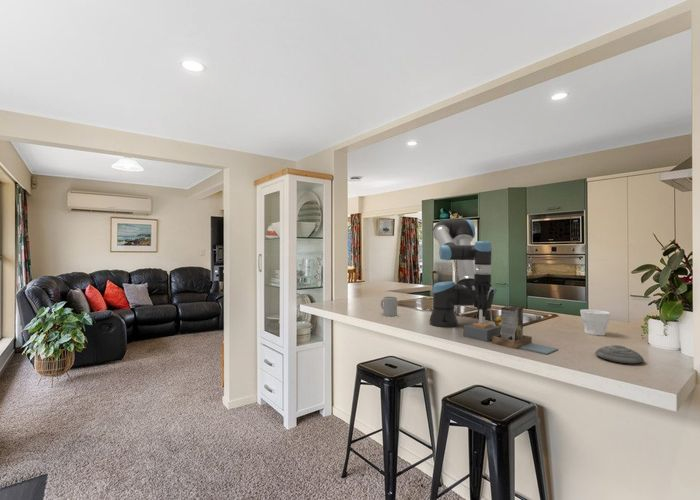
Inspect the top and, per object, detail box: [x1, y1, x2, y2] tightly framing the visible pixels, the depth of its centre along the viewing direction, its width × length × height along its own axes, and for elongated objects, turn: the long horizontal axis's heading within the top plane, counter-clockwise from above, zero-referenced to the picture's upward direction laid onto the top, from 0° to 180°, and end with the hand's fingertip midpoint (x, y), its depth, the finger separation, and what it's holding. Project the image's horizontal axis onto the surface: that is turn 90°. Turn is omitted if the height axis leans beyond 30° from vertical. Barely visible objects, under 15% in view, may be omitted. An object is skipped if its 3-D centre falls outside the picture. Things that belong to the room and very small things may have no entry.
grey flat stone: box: [594, 344, 645, 364], centre depth 138 cm, size 15×15×6 cm
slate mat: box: [518, 342, 559, 356], centre depth 150 cm, size 11×11×1 cm
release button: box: [472, 321, 492, 328], centre depth 170 cm, size 6×6×5 cm
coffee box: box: [500, 305, 524, 341], centre depth 159 cm, size 9×6×16 cm
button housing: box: [463, 323, 501, 342], centre depth 170 cm, size 12×12×5 cm
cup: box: [579, 308, 611, 336], centre depth 178 cm, size 12×12×11 cm
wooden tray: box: [491, 334, 533, 350], centre depth 159 cm, size 11×14×3 cm
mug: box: [380, 296, 398, 317], centre depth 224 cm, size 12×8×11 cm
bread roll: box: [494, 314, 501, 327], centre depth 190 cm, size 13×10×8 cm
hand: (482, 322), depth 170 cm, fingers closed
